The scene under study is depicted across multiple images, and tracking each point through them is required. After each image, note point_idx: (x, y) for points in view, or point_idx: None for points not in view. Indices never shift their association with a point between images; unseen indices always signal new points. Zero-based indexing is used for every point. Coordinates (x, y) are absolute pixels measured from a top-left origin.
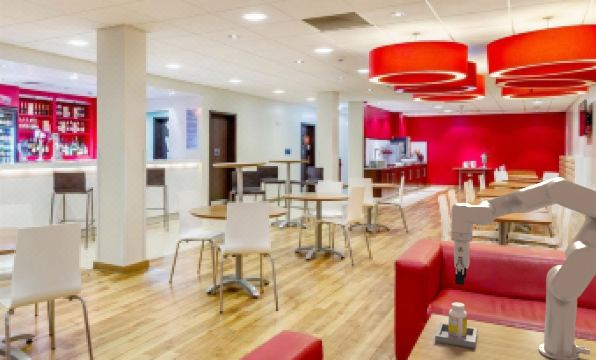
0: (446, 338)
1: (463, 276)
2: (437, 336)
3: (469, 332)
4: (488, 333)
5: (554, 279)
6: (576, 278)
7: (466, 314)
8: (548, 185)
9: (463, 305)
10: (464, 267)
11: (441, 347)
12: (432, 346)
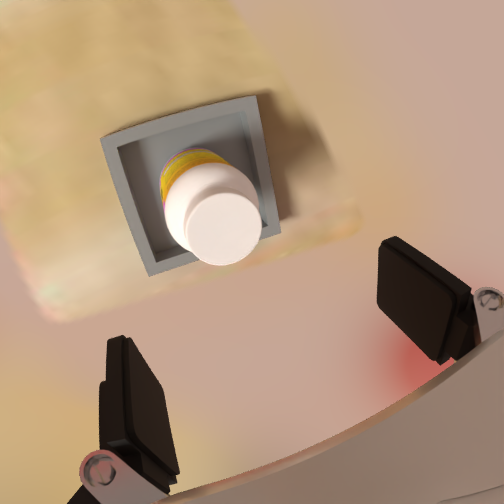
0: (273, 195)
1: (454, 284)
2: (279, 225)
3: (123, 160)
4: (65, 107)
5: None
6: None
7: (213, 166)
8: None
9: (224, 198)
10: (122, 454)
11: (298, 192)
12: (305, 216)
